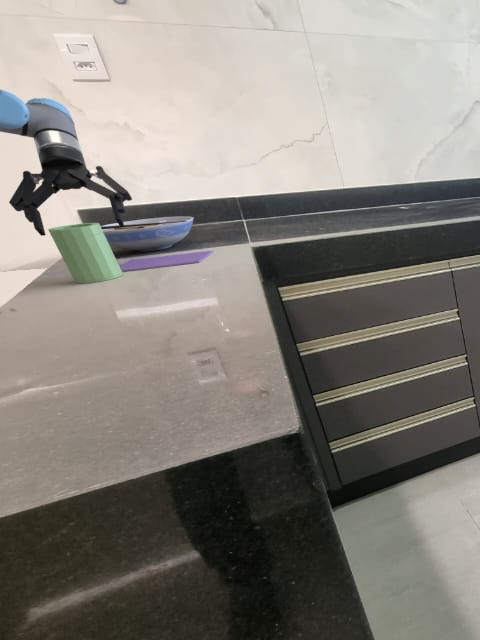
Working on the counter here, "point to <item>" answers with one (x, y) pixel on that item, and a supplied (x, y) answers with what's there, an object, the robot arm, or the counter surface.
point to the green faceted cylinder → (86, 252)
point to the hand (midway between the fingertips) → (81, 227)
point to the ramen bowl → (148, 233)
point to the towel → (164, 261)
